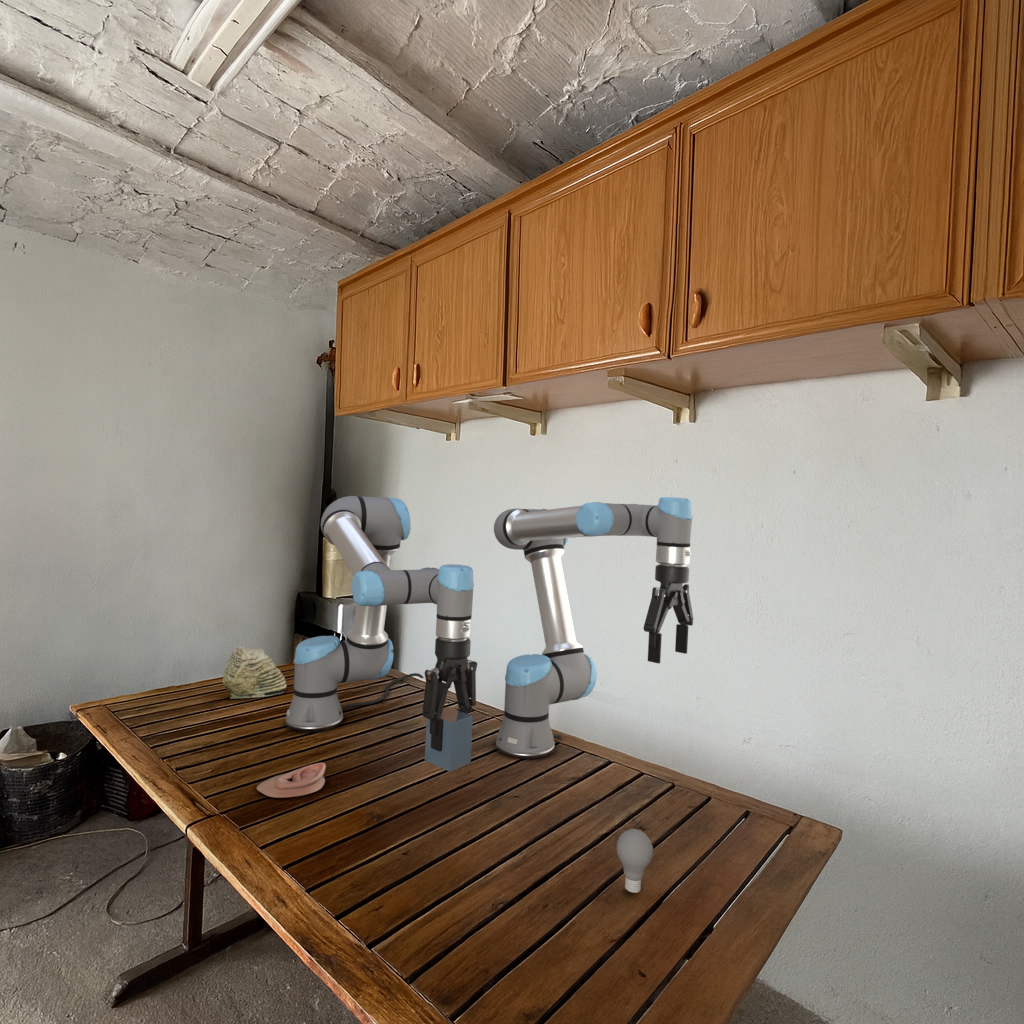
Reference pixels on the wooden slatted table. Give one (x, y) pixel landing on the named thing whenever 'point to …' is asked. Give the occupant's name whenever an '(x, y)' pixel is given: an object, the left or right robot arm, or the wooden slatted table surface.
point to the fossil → (252, 674)
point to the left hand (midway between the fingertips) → (448, 744)
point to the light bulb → (634, 857)
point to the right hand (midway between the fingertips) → (667, 657)
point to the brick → (451, 740)
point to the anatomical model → (295, 782)
